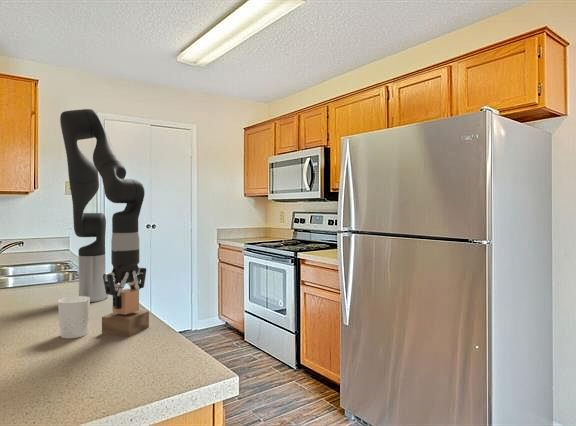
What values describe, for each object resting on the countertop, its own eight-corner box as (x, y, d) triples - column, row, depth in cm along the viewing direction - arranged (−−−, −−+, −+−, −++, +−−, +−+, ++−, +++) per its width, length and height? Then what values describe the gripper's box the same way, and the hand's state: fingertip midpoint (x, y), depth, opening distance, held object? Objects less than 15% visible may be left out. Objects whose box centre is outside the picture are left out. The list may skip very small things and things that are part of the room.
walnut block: (123, 325, 120) (123, 308, 120) (149, 327, 118) (148, 311, 117) (101, 334, 111) (101, 316, 111) (128, 337, 109) (128, 319, 109)
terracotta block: (126, 308, 118) (126, 288, 118) (139, 310, 116) (139, 290, 116) (112, 312, 113) (112, 291, 113) (125, 314, 111) (125, 293, 111)
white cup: (96, 332, 113) (96, 297, 112) (73, 341, 105) (73, 303, 105) (75, 329, 115) (75, 295, 115) (51, 337, 108) (51, 301, 108)
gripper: (135, 245, 122) (135, 299, 122) (94, 249, 109) (95, 310, 110) (153, 246, 119) (153, 302, 119) (114, 251, 106) (114, 314, 106)
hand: (125, 306), depth 114 cm, fingers open, 5 cm apart
